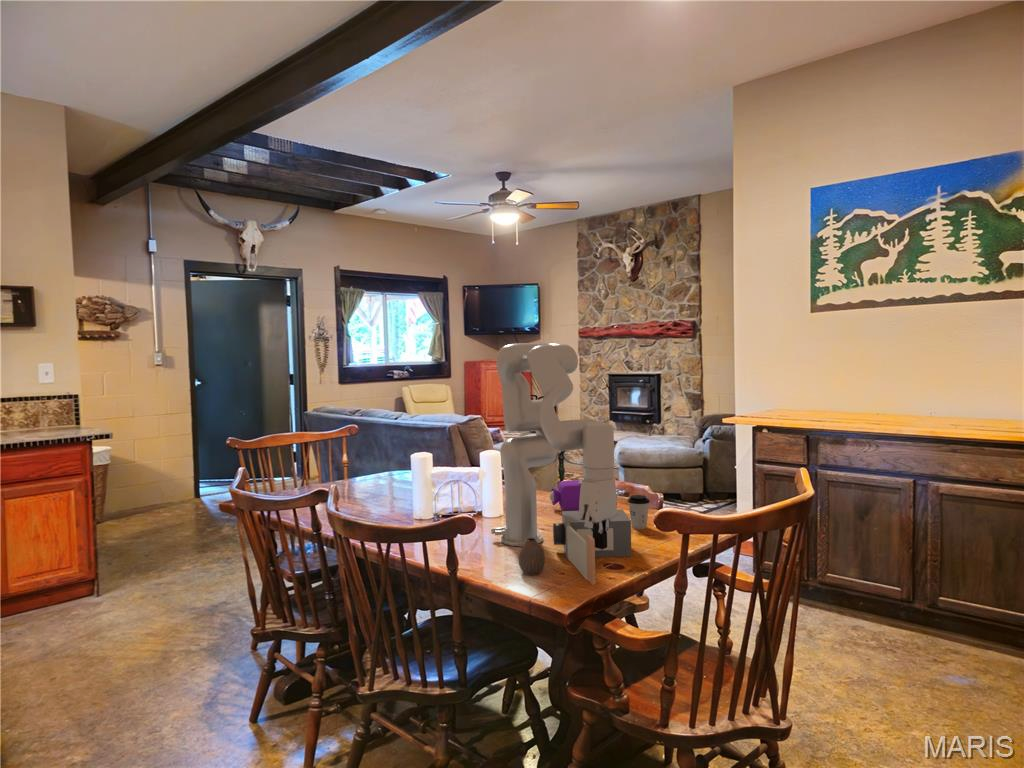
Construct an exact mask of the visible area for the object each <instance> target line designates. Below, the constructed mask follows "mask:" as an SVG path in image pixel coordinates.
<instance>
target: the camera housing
mask: <svg viewBox="0 0 1024 768" xmlns="http://www.w3.org/2000/svg"><path fill="white" fill-rule="evenodd" d="M566 523H570V526H571V527H572V528H573V529H574V530H575V531H576V532H577V533H578V534H579V535H580V536H581V537H582V538H583V539H584V540H585V541H586V535H590V536H592V537H593V532H592V531H591V528H586V527H584V524H585V520H580V518H579V510H575V511H565V510H562V511H561V522H558V523H553V524H552V537H553V538H552V539H553V540H552V541H553V545H554V546H560V545H561V546H562V547H563V550H564V554H565V555H566ZM606 532H607V548H604V549H599V548H595V558H614V557H615V558H618V557H620V558H622V557H632V524H631V518H630V517H629V516H628V515H627V513H626V512H625V510H624V509H623V508H621V509H617V513H616V515H615V516H614V519H613V520H612V521H611V522H610V523H609V529H608V531H606ZM565 558H566V559H567V557H566V556H565Z"/></svg>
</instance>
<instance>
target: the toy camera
mask: <svg viewBox="0 0 1024 768" xmlns="http://www.w3.org/2000/svg"><path fill="white" fill-rule="evenodd" d="M581 483H582V480H562V481H559V482H558V484H557V489H556V488H554V487H551V489H550V493H549V499H550V501H551V504H552V506H555V505H556V504H559V506H560V508H561V509H562V511H579V501H580V489H581Z"/></svg>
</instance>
